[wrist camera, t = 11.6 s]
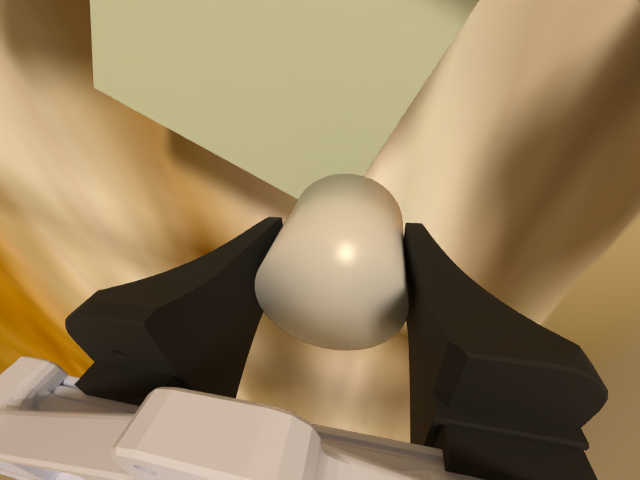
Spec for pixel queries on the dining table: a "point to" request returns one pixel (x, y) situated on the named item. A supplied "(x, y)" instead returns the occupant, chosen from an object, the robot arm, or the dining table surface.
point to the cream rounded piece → (338, 266)
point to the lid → (274, 75)
